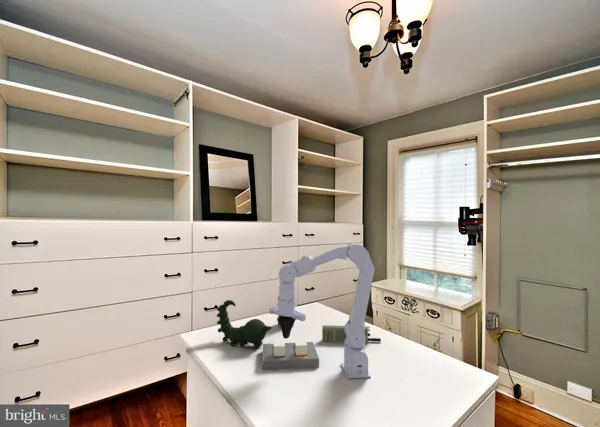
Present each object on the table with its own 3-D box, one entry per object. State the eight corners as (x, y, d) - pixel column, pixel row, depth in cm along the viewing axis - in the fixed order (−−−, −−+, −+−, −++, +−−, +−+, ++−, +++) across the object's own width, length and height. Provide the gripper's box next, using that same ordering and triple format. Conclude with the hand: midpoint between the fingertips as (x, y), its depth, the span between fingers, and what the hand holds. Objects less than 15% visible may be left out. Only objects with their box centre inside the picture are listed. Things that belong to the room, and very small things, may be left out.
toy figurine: (213, 349, 117) (267, 354, 109) (211, 302, 119) (264, 304, 110) (227, 340, 126) (277, 344, 118) (224, 297, 127) (274, 297, 119)
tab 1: (284, 355, 101) (285, 346, 102) (273, 356, 101) (273, 346, 101) (284, 352, 104) (284, 342, 105) (273, 352, 104) (273, 343, 104)
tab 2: (307, 355, 102) (307, 345, 102) (296, 355, 102) (296, 345, 102) (305, 351, 105) (306, 341, 105) (295, 351, 105) (295, 342, 105)
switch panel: (319, 367, 100) (319, 358, 100) (262, 370, 98) (262, 361, 98) (312, 349, 114) (312, 341, 114) (262, 351, 112) (262, 343, 112)
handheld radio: (322, 339, 125) (379, 341, 123) (322, 342, 121) (381, 344, 120) (322, 324, 125) (379, 325, 123) (322, 327, 121) (381, 329, 120)
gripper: (310, 299, 100) (309, 338, 100) (277, 293, 108) (276, 329, 107) (299, 304, 94) (299, 345, 94) (265, 297, 102) (264, 335, 101)
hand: (286, 337), depth 100 cm, fingers closed
